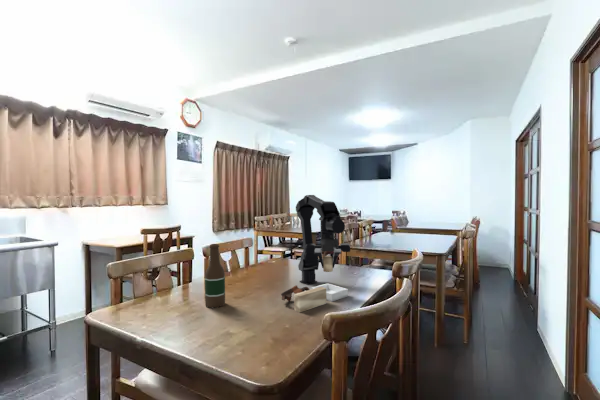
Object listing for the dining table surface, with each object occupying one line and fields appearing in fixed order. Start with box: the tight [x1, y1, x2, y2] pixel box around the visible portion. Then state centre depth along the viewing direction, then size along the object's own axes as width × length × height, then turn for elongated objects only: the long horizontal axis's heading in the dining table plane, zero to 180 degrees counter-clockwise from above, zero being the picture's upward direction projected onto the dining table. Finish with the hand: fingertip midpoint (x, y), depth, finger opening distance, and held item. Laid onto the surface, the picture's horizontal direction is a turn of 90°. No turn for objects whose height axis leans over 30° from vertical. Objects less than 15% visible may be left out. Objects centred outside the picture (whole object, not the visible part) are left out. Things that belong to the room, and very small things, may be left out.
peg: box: [322, 255, 334, 273], centre depth 132 cm, size 4×4×6 cm
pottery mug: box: [280, 285, 311, 302], centre depth 124 cm, size 12×10×8 cm
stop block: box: [293, 287, 327, 313], centre depth 119 cm, size 3×14×6 cm, turn 131°
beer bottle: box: [204, 243, 226, 308], centre depth 123 cm, size 8×8×24 cm
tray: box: [310, 282, 349, 302], centre depth 133 cm, size 12×10×3 cm
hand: (328, 267), depth 132 cm, fingers closed on peg, 4 cm apart
